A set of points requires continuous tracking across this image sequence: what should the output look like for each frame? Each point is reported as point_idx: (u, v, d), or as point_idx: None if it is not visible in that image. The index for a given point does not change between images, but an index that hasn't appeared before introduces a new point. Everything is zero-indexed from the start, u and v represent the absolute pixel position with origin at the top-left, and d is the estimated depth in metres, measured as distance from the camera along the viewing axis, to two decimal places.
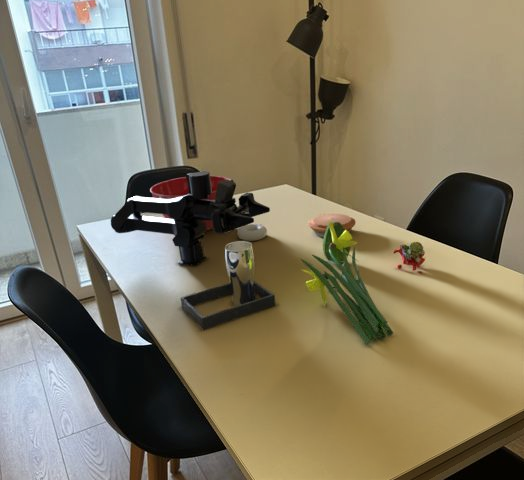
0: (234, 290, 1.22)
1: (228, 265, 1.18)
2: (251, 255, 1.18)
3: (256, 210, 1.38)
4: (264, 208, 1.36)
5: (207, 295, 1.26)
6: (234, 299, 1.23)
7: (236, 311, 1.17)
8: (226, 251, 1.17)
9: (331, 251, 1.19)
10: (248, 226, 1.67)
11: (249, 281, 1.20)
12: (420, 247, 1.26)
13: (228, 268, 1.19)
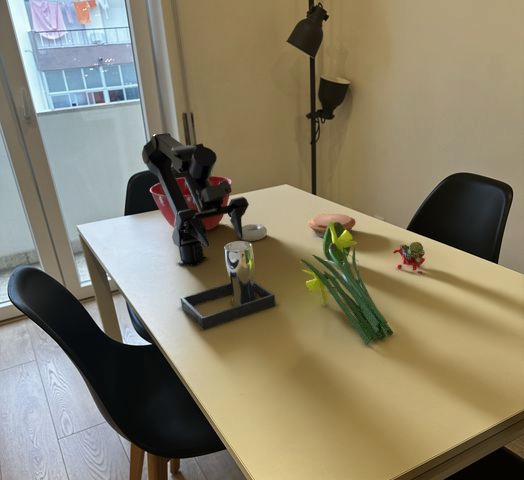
0: (234, 290, 1.22)
1: (228, 265, 1.18)
2: (251, 255, 1.18)
3: (235, 224, 1.28)
4: (239, 232, 1.26)
5: (207, 295, 1.26)
6: (234, 299, 1.23)
7: (236, 311, 1.17)
8: (226, 251, 1.17)
9: (331, 251, 1.19)
10: (248, 226, 1.67)
11: (249, 281, 1.20)
12: (420, 247, 1.26)
13: (228, 268, 1.19)
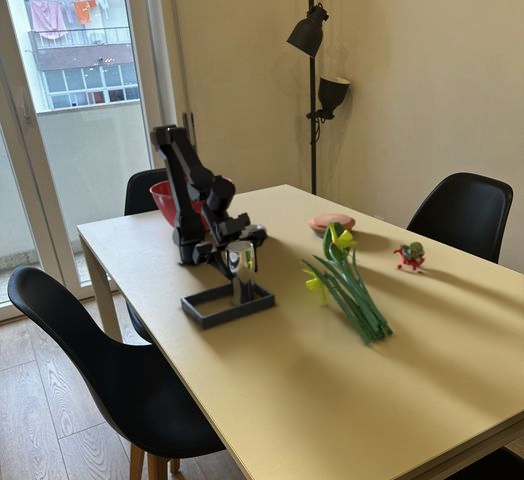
0: (234, 290, 1.22)
1: (229, 265, 1.18)
2: (252, 255, 1.17)
3: None
4: None
5: (207, 295, 1.26)
6: (234, 299, 1.23)
7: (236, 311, 1.17)
8: (227, 251, 1.17)
9: (331, 251, 1.19)
10: (248, 226, 1.67)
11: (250, 281, 1.20)
12: (420, 247, 1.26)
13: (229, 268, 1.18)
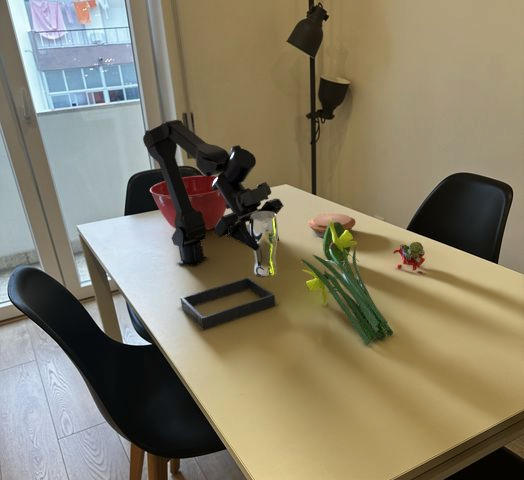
0: (258, 260, 1.22)
1: (254, 235, 1.18)
2: (276, 224, 1.19)
3: None
4: None
5: (207, 295, 1.26)
6: (257, 270, 1.24)
7: (236, 311, 1.17)
8: (252, 221, 1.17)
9: (331, 251, 1.19)
10: (248, 226, 1.67)
11: (274, 250, 1.22)
12: (420, 247, 1.26)
13: (254, 238, 1.19)
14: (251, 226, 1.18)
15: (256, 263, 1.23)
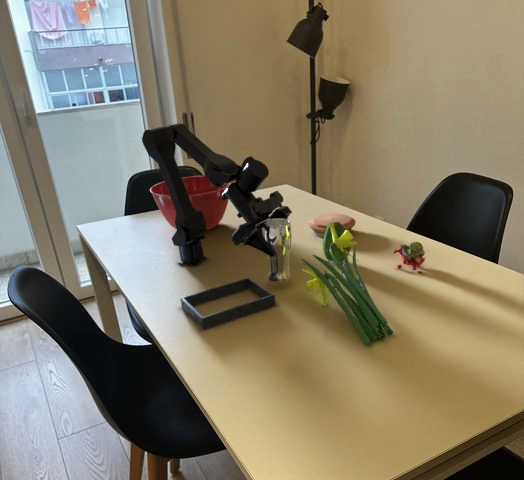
0: (274, 266, 1.27)
1: (271, 242, 1.23)
2: None
3: None
4: None
5: (207, 295, 1.26)
6: (273, 275, 1.28)
7: (236, 311, 1.17)
8: (269, 228, 1.21)
9: (332, 251, 1.19)
10: None
11: (289, 256, 1.26)
12: (420, 247, 1.26)
13: (270, 245, 1.23)
14: (267, 233, 1.22)
15: (271, 269, 1.28)
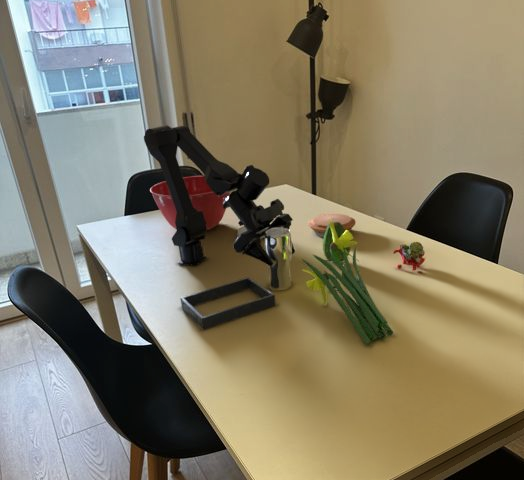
0: (275, 275, 1.28)
1: (271, 251, 1.24)
2: None
3: None
4: None
5: (207, 295, 1.26)
6: (274, 283, 1.29)
7: (236, 311, 1.17)
8: (269, 238, 1.23)
9: (332, 251, 1.19)
10: None
11: (289, 264, 1.27)
12: (420, 247, 1.26)
13: (271, 254, 1.24)
14: (268, 243, 1.24)
15: (272, 277, 1.29)
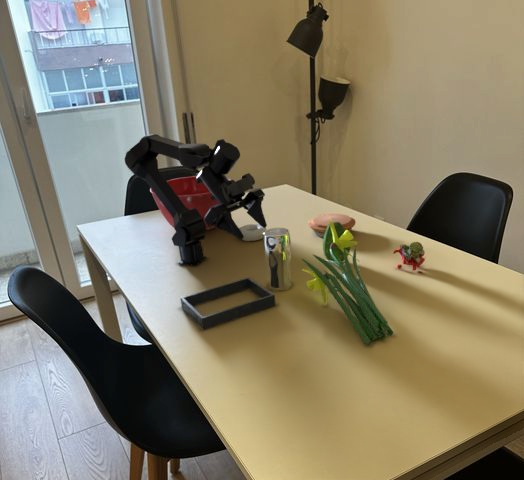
0: (274, 275, 1.28)
1: (271, 251, 1.24)
2: None
3: (255, 215, 1.34)
4: (262, 222, 1.32)
5: (207, 295, 1.26)
6: (274, 284, 1.29)
7: (236, 311, 1.17)
8: (268, 237, 1.23)
9: (332, 251, 1.19)
10: (248, 226, 1.67)
11: (289, 264, 1.28)
12: (420, 247, 1.26)
13: (270, 254, 1.25)
14: (267, 243, 1.24)
15: (272, 277, 1.29)
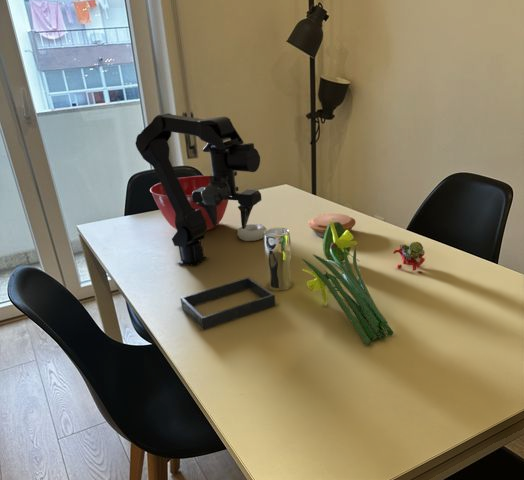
0: (274, 275, 1.28)
1: (271, 251, 1.24)
2: None
3: None
4: None
5: (207, 295, 1.26)
6: (274, 284, 1.29)
7: (236, 311, 1.17)
8: (268, 237, 1.23)
9: (332, 251, 1.19)
10: (248, 226, 1.67)
11: (289, 264, 1.28)
12: (420, 247, 1.26)
13: (270, 254, 1.25)
14: (267, 243, 1.24)
15: (272, 277, 1.29)
